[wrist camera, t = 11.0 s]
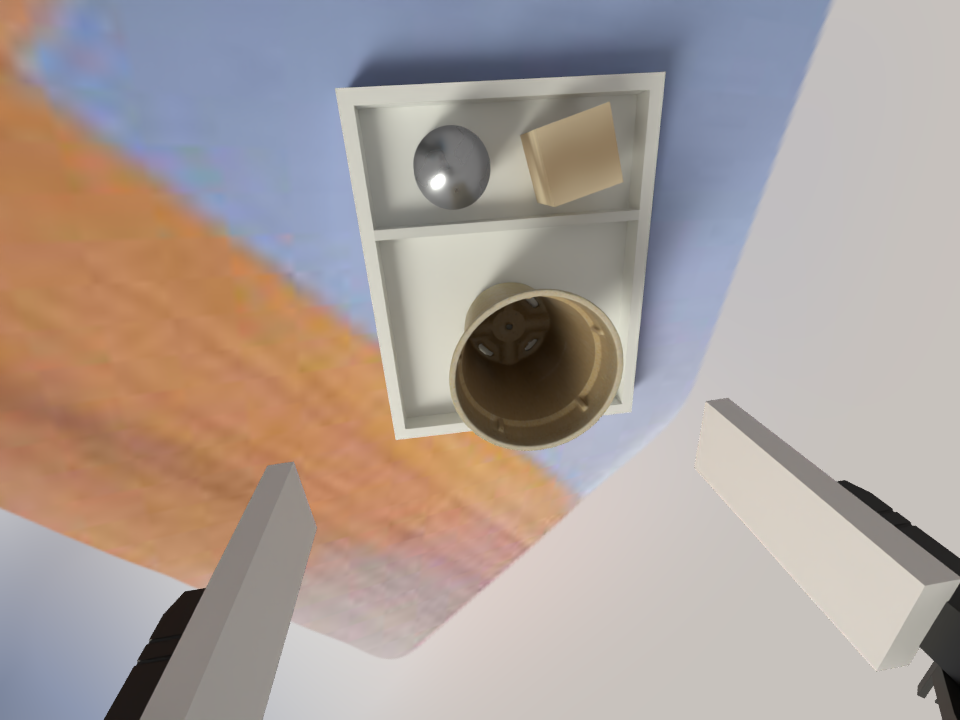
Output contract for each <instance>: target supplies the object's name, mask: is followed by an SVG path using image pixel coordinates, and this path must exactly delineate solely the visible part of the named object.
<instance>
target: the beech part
mask: <svg viewBox="0 0 960 720" xmlns="http://www.w3.org/2000/svg"><path fill="white" fill-rule="evenodd" d="M520 138H521V141H522V145H523V149H524V153H525V157H526V161H527V165H528V169H529V173H530V176H531V180H532V184H533V188H534V192H535V196H536V200H537V203H540V204H544V205H548V206H552V207H557V206H559V205H562V204H565V203H568V202H570V201H573V200H576V199H579V198H581V197H584V196H587V195H589V194H592V193H595V192H598V191H600V190H603V189H606V188H609V187H611V186H614V185H617V184H620V183H622V182H623V177H622V171H621V165H620V159H619V153H618V147H617V141H616V135H615V129H614V123H613V117H612V111H611V105H610V102H607V103H604V104H602V105H599V106H596V107H594V108H591V109H588V110H586V111H583V112H580V113H577V114H575V115H572V116H569V117H567V118H564V119H561V120H559V121H556V122H553V123H551V124H548V125H545V126H542V127H540V128H537V129H535V130H532V131H530V132H527V133H525V134H522V135H520Z"/></svg>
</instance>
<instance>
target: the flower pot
mask: <svg viewBox="0 0 960 720" xmlns="http://www.w3.org/2000/svg"><path fill="white" fill-rule="evenodd" d="M532 297H533V298H534V299H535V300H536V301H537V303H538V306H536V307H533V306H532V305H531V304H530V303H529V302H528V301H527V300H526V298H527V299H530V298H532ZM508 324H511V325H512V328H511V329H507V328H506V326H507V325H508ZM534 339H536V340H537V341H536V343H535V344H534V345H533V346H532V347H531V348H530V349H528V350H525V348H526V347H527V346H528V344H529V343H530V342H532V341H533V340H534ZM480 344H482V345H483V346H484V347H485V348H487V349H488V350H489V351H491V352H492V353H493V354H492V355H491V356H489V355H486V354H484V353H483V352H482V351H481V350H480V349H479V345H480ZM623 366H624V363H623V349H622V344H621V340H620V337H619V334H618V332H617V330H616V328H615V326H614V325H613V323H612V321H611V320H610V319H609V318H608V316H607V315H606V314H605V313H604V312H603V311H602V310H601V309H600V308H599V307H597V306H596V305H595V304H594V303H592V302H591V301H589V300H587V299H585V298H583V297H581V296H579V295H577V294H574V293H571V292H568V291H563V290H558V289H534V288H532V287H530V286H528V285H526V284H522V283H516V282H508V283H501V284H497V285H494V286H492V287H490V288H488V289H486V290H485V291H483V292H482V293H481V294H480V295H479V296H478V297H477V298H476V299H475V300H474V301H473V303H472V304H471V306H470V308H469V310H468V312H467V315H466V319H465V326H464V333H463V335H462V336H461V338H460V340H459V342H458V344H457V346H456V348H455V350H454V353H453V357H452V360H451V365H450V372H449V386H450V393H451V398H452V401H453V404H454V407H455V409H456V411H457V413H458V414H459V416H460V418H461V419H462V421H463V422H464V423H465V425H467V427H468V428H469V429H471V430H472V431H473V432H474V433H475V434H476V435H477V436H479V437H481V438H482V439H484V440H486V441H488V442H490V443H492V444H494V445H497V446H500V447H503V448H507V449H512V450H521V451H523V450H524V451H532V450H542V449H547V448H552V447H556V446H558V445H561V444H564V443H567V442H569V441H570V440H573V439H575V438H577V437H578V436H579V435H581V434H583V433H584V432H585V431H587V430H588V429H590V428H591V427H592V426H593V425H594V424H595V423H597V421H598V420H599V418H600V417H602V415H603V414H604V413H605V412H606V410H607V409H608V407H609V406H610V404H611V403H612V401H613V399H614V397H615V395H616V394H617V390H618V388H619V386H620V382H621V379H622V373H623Z"/></svg>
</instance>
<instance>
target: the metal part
mask: <svg viewBox="0 0 960 720" xmlns="http://www.w3.org/2000/svg"><path fill="white" fill-rule="evenodd" d="M413 169H414V176H415V180H416V183H417V185H418V187H419V189H420V191H421V192H422V194H423V195H424V196H425V197H426V199H428V200H429V201H430V202H431V203H433V204H434V205H436V206H438V207H440V208H443V209H448V210H458V209H463V208H465V207H468V206H470V205H472V204H473V203H474V202H476V201H477V200H478V199H479V198H480V197H481V195H482V194H483V193H484V191H485V189H486V187H487V185H488V182H489V178H490V170H491V169H490V159H489V155H488V152H487V150H486V147H485V146H484V144H483V142H482V141H481V140H480V138H479V137H478V136H477V135H476V134H474V133H473V132H472V131H470V130H468V129H466V128H464V127H461V126H457V125H445V126H441V127H438V128H436V129H434V130H432V131H431V132H429V133H428V134H427V135H426V136H425V137H424V138H423V139H422V140H421V141H420V143H419V144H418V146H417V148H416V151H415V154H414V159H413Z"/></svg>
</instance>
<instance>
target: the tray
mask: <svg viewBox="0 0 960 720" xmlns="http://www.w3.org/2000/svg"><path fill="white" fill-rule="evenodd" d="M665 73H666V72H652V73H632V74H612V75H592V76H572V77H552V78H532V79H512V80H492V81H472V82H452V83H432V84H412V85H392V86H372V87H352V88H335V91H336V97H337V102H338V108H339V114H340V120H341V125H342V131H343V137H344V143H345V149H346V154H347V160H348V166H349V172H350V177H351V183H352V189H353V195H354V201H355V206H356V212H357V218H358V224H359V230H360V235H361V241H362V247H363V253H364V258H365V264H366V270H367V276H368V282H369V287H370V293H371V299H372V305H373V311H374V316H375V322H376V328H377V334H378V339H379V345H380V351H381V357H382V363H383V368H384V374H385V380H386V386H387V391H388V397H389V403H390V409H391V415H392V420H393V426H394V432H395V438H396V440H399V439H408V438H416V437H425V436H433V435H442V434H450V433H458V432H467V431H472V430H471V429H469V428H468V427H467V425H465V423H464V422H463V421H462V419H461V418H460V416H459V414H458V413H457V411H456V409H455V407H454V404H453V401H452V398H451V393H450V386H449V372H450V365H451V360H452V357H453V353H454V350H455V348H456V346H457V344H458V342H459V340H460V338H461V336H462V335H463V333H464V326H465V319H466V315H467V312H468V310H469V308H470V306H471V304H472V303H473V301H474V300H475V299H476V298H477V297H478V296H479V295H480V294H481V293H482V292H483V291H485V290H486V289H488V288H490V287H492V286H494V285H497V284H501V283H508V282H516V283H522V284H526V285H528V286H530V287H532V288H534V289H558V290H563V291H568V292H571V293H574V294H577V295H579V296H581V297H583V298H585V299H587V300H589V301H591V302H592V303H594V304H595V305H596V306H597V307H599V308H600V309H601V310H602V311H603V312H604V313H605V314H606V315H607V316H608V318H609V319H610V320H611V321H612V323H613V325H614V326H615V328H616V330H617V332H618V334H619V337H620V340H621V344H622V349H623V363H624V366H623V373H622V379H621V382H620V386H619V388H618V390H617V394H616V395H615V397H614V399H613V401H612V403H611V404H610V406H609V407H608V409H607V410H606V412H605V413H604V414H603V415H611V414H619V413H627V412H631V410H632V400H633V390H634V380H635V370H636V360H637V350H638V340H639V330H640V320H641V311H642V301H643V291H644V281H645V271H646V261H647V251H648V241H649V231H650V222H651V212H652V202H653V192H654V182H655V172H656V162H657V152H658V142H659V132H660V123H661V113H662V103H663V93H664V83H665ZM607 102H610V105H611V111H612V117H613V123H614V129H615V135H616V141H617V147H618V153H619V159H620V165H621V171H622V177H623V182H622V183H620V184H617V185H614V186H611V187H609V188H606V189H603V190H600V191H598V192H595V193H592V194H589V195H587V196H584V197H581V198H579V199H576V200H573V201H570V202H568V203H565V204H562V205H559V206H557V207H552V206H548V205H544V204H540V203H537V200H536V196H535V192H534V188H533V184H532V180H531V176H530V173H529V169H528V165H527V161H526V157H525V153H524V149H523V145H522V141H521V138H520V135H522V134H525V133H527V132H530V131H532V130H535V129H537V128H540V127H542V126H545V125H548V124H551V123H553V122H556V121H559V120H561V119H564V118H567V117H569V116H572V115H575V114H577V113H580V112H583V111H586V110H588V109H591V108H594V107H596V106H599V105H602V104H604V103H607ZM445 125H457V126H461V127H464V128H466V129H468V130H470V131H472V132H473V133H474V134H476V135H477V136H478V137H479V138H480V140H481V141H482V142H483V144H484V146H485V147H486V150H487V152H488V155H489V159H490V169H491V170H490V178H489V182H488V185H487V187H486V189H485V191H484V193H483V194H482V195H481V197H480V198H479V199H478V200H477V201H476V202H474V203H473V204H472V205H470V206H468V207H465V208H463V209H458V210H448V209H443V208H440V207H438V206H436V205H434V204H433V203H431V202H430V201H429V200H428V199H426V197H425V196H424V195H423V194H422V192H421V191H420V189H419V187H418V185H417V183H416V180H415V176H414V169H413V159H414V154H415V151H416V148H417V146H418V144H419V143H420V141H421V140H422V139H423V138H424V137H425V136H426V135H427V134H428V133H429V132H431V131H432V130H434V129H436V128H438V127H441V126H445ZM526 300H527V301H528V302H529V303H530V304H531V305H532V306H533V307H536V306H538V303H537V301H536V300H535V299H534V298H533V297H532V298H530V299H527V298H526ZM506 328H507V329H511V328H512V325H511V324H508V325H507V326H506ZM536 341H537V340H536V339H534V340H533V341H532V342H530V343H529V344H528V346H527V347H526V348H525V350H528V349H530V348H531V347H532V346H533V345H534V344H535V343H536ZM479 349H480V350H481V351H482V352H483V353H484V354H486V355H489V356H491V355H492V354H493V353H492V352H491V351H489V350H488V349H487V348H485V347H484V346H483V345H482V344H480V345H479Z"/></svg>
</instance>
